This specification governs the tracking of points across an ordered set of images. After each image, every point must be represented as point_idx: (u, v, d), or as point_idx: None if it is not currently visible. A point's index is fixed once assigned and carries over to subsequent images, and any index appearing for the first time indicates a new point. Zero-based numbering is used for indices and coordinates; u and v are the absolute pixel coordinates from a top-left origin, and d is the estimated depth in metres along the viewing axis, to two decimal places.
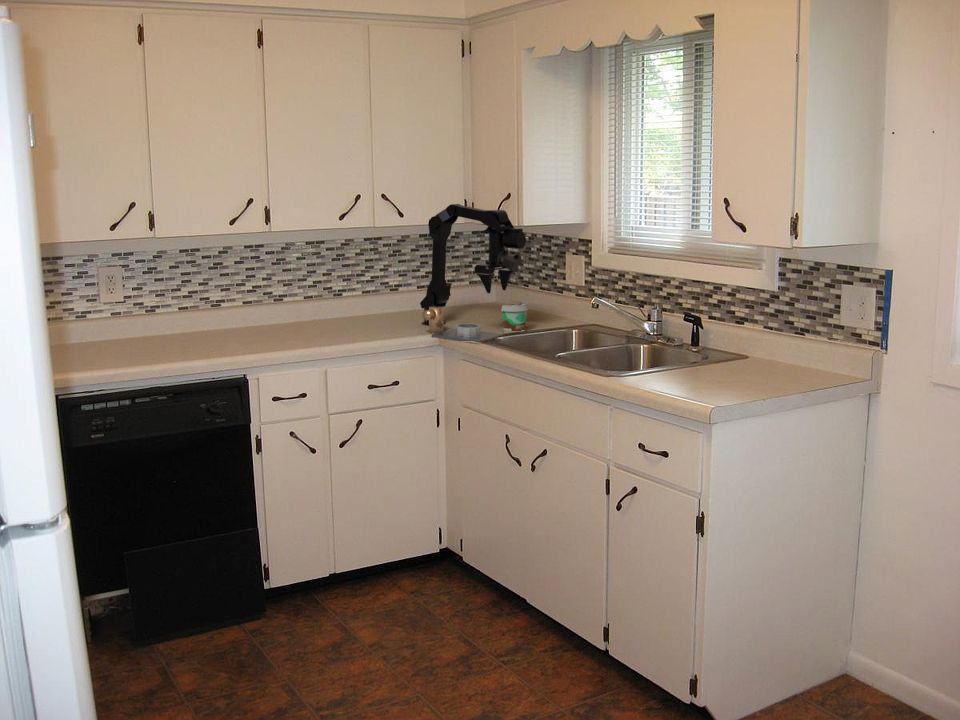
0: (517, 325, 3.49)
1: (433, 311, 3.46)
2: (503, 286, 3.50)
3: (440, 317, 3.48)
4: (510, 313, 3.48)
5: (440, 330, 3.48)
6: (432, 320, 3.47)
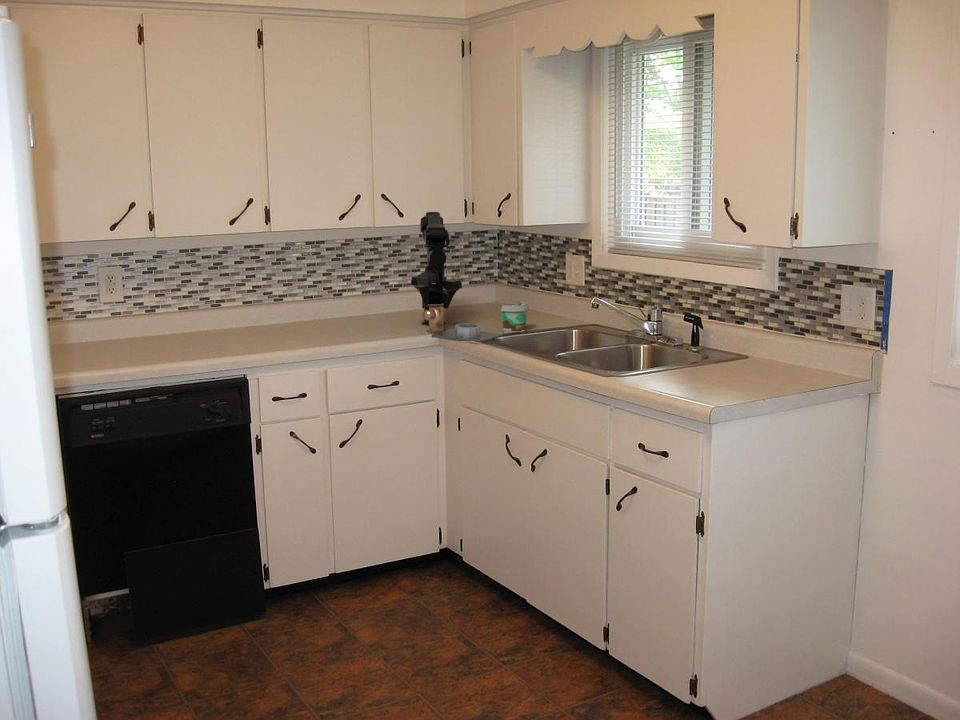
0: (517, 325, 3.49)
1: (433, 311, 3.46)
2: None
3: (440, 317, 3.48)
4: (510, 313, 3.48)
5: (440, 330, 3.48)
6: (432, 320, 3.47)
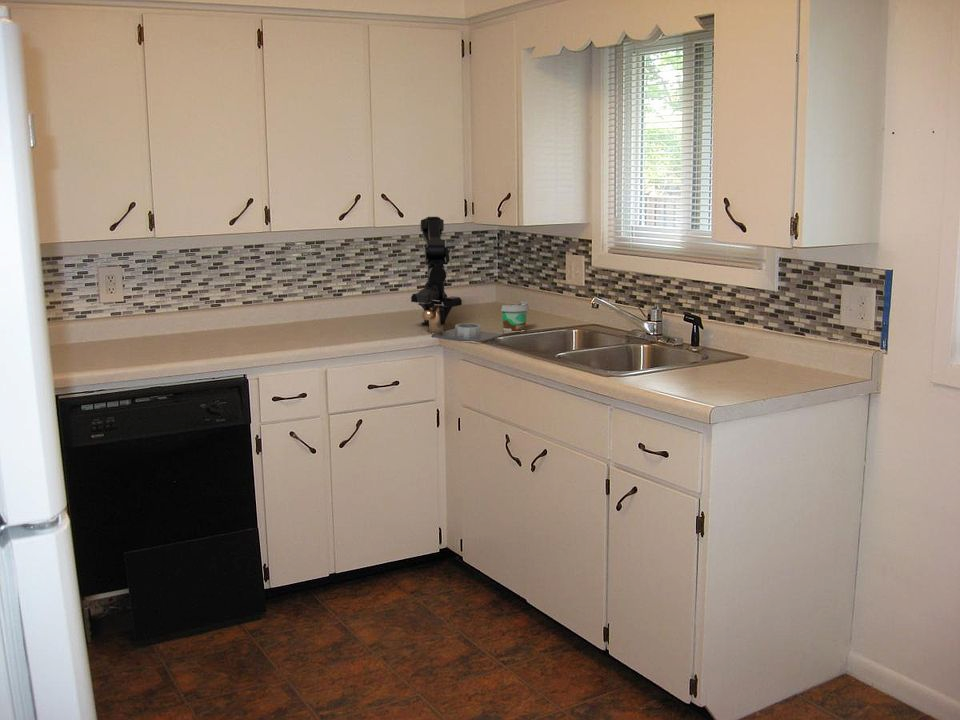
0: (517, 325, 3.49)
1: (433, 311, 3.46)
2: None
3: None
4: (510, 313, 3.48)
5: (440, 330, 3.48)
6: (432, 320, 3.47)
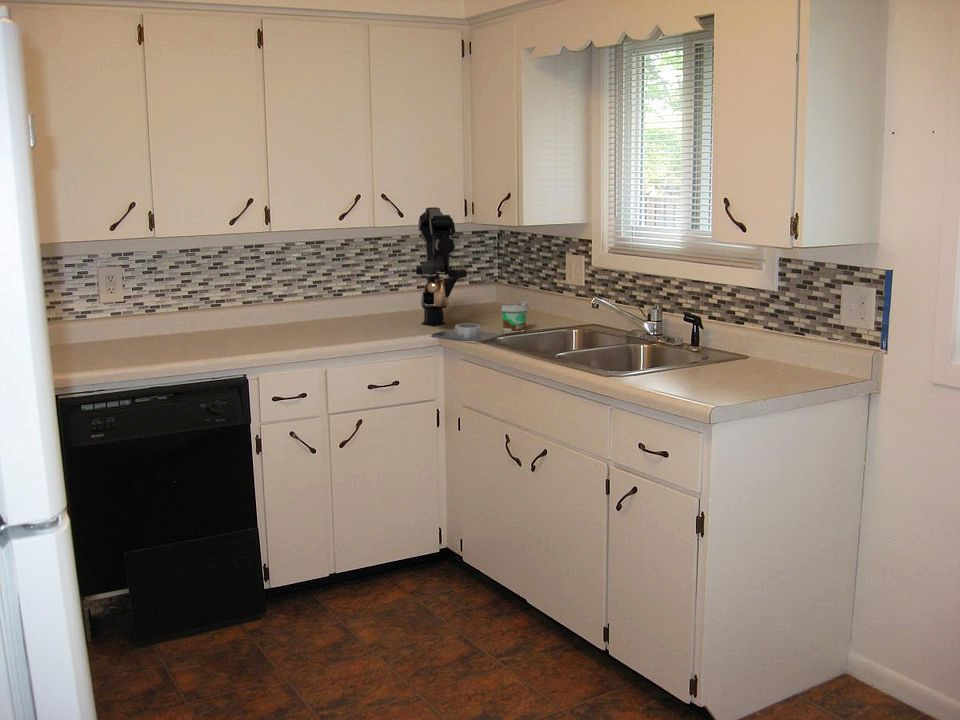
0: (517, 325, 3.49)
1: (438, 283, 3.42)
2: None
3: None
4: (510, 313, 3.48)
5: (445, 303, 3.45)
6: (437, 292, 3.44)
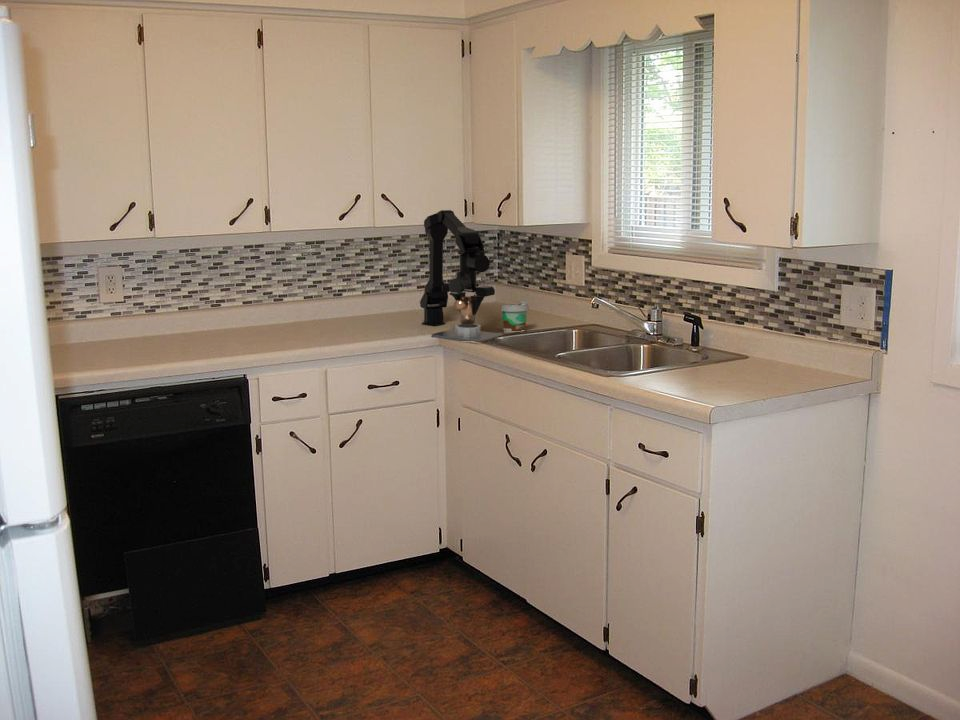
0: (517, 325, 3.49)
1: (465, 301, 3.37)
2: None
3: (472, 307, 3.38)
4: (510, 313, 3.48)
5: (472, 320, 3.39)
6: (464, 310, 3.38)
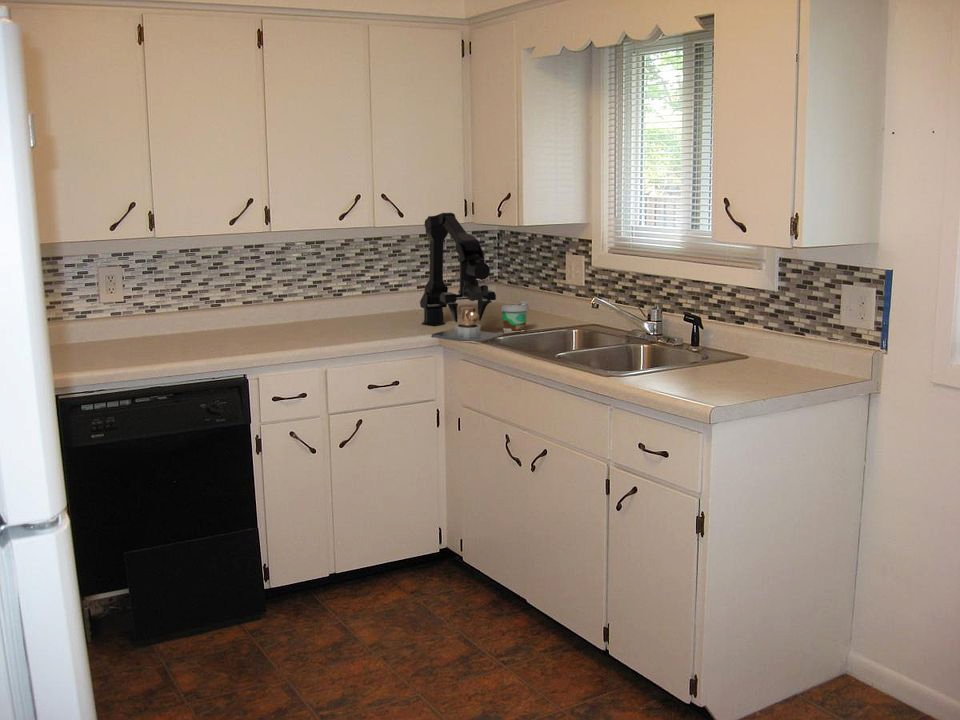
0: (517, 325, 3.49)
1: None
2: None
3: None
4: (510, 313, 3.48)
5: None
6: (471, 321, 3.39)
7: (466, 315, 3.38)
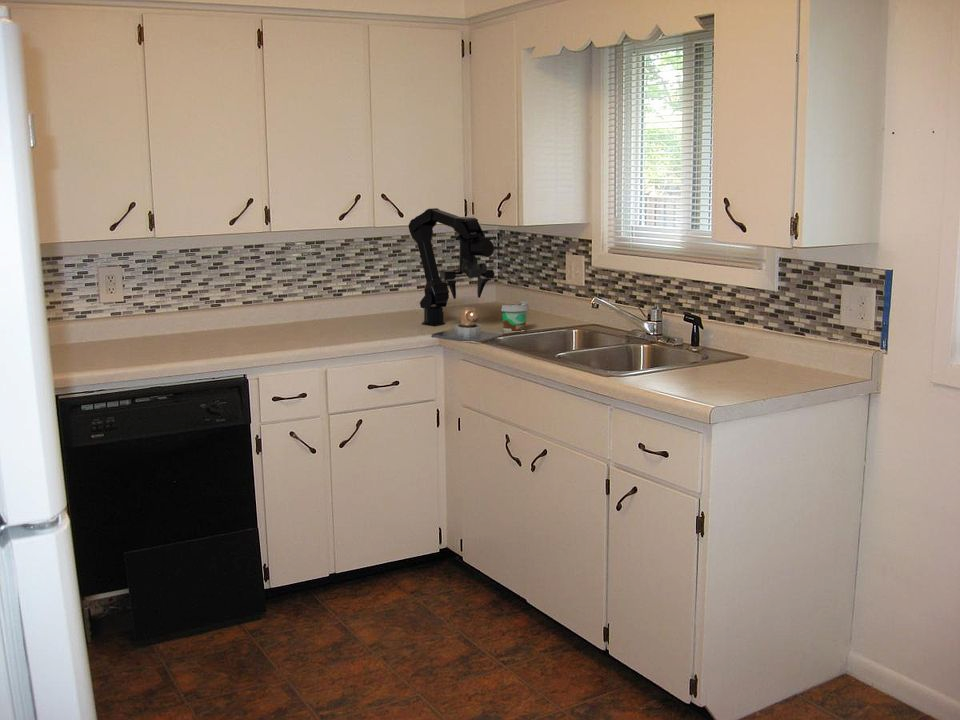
0: (517, 325, 3.49)
1: (474, 312, 3.38)
2: (478, 293, 3.53)
3: None
4: (510, 313, 3.48)
5: None
6: (471, 321, 3.39)
7: (466, 315, 3.38)
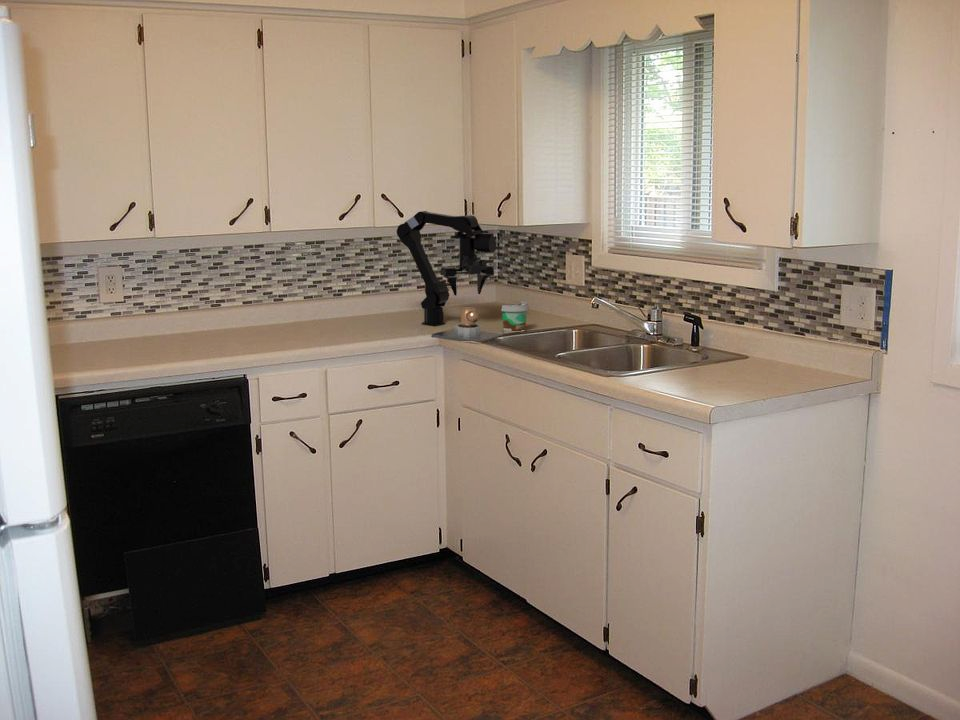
0: (517, 325, 3.49)
1: (474, 312, 3.38)
2: (478, 290, 3.59)
3: None
4: (510, 313, 3.48)
5: None
6: (471, 322, 3.39)
7: (466, 316, 3.38)
